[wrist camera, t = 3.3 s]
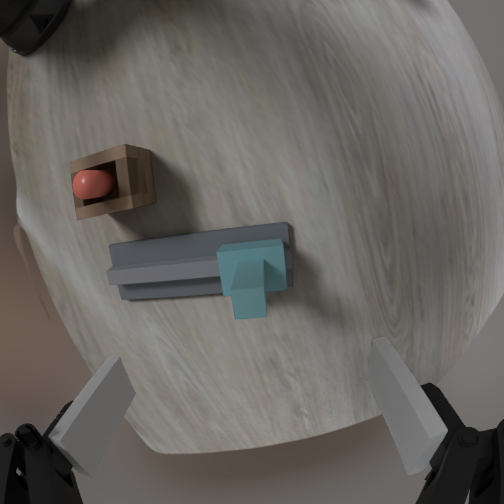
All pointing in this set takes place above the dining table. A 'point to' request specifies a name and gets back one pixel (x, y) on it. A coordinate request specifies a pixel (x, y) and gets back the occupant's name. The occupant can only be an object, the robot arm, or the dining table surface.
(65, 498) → the robot arm
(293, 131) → the dining table surface
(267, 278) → the carriage
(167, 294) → the rail bed
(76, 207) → the open wooden box
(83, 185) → the cylinder
